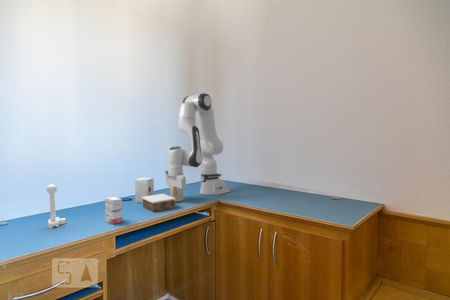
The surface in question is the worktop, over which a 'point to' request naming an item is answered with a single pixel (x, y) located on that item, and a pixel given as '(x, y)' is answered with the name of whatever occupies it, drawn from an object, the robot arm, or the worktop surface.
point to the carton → (176, 193)
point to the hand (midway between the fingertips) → (176, 193)
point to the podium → (158, 202)
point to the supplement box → (143, 188)
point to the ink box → (113, 210)
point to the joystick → (53, 209)
